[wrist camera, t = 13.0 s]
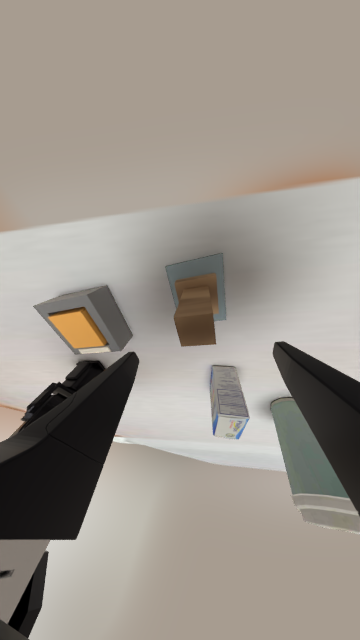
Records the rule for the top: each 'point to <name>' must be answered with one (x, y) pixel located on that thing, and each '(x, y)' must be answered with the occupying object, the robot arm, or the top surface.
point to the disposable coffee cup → (311, 472)
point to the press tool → (196, 309)
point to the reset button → (78, 328)
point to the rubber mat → (196, 269)
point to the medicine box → (227, 403)
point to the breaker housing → (101, 312)
